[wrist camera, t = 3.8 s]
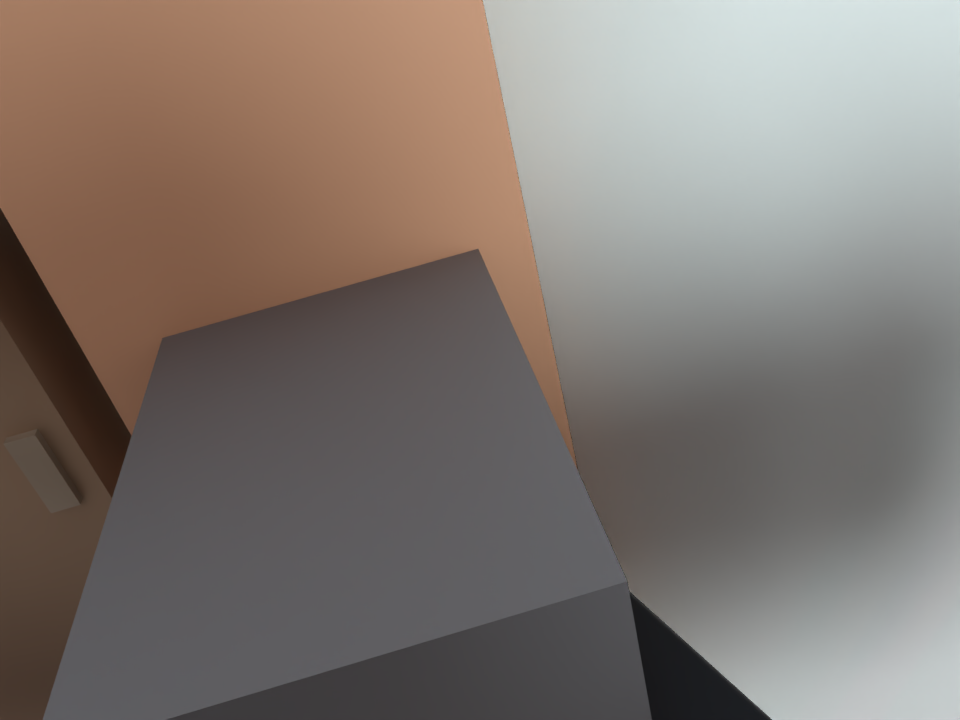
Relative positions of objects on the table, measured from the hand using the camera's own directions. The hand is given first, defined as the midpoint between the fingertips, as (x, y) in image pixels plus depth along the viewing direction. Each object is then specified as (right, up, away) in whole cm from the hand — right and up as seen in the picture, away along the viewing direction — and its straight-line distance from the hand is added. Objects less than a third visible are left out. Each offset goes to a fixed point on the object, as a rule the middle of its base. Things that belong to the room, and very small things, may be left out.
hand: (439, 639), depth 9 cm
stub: (0, +1, +2) cm, 2 cm away
